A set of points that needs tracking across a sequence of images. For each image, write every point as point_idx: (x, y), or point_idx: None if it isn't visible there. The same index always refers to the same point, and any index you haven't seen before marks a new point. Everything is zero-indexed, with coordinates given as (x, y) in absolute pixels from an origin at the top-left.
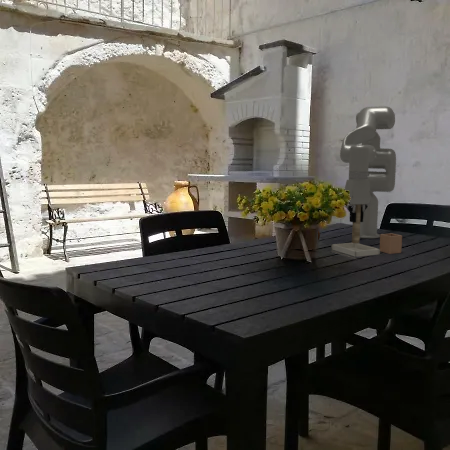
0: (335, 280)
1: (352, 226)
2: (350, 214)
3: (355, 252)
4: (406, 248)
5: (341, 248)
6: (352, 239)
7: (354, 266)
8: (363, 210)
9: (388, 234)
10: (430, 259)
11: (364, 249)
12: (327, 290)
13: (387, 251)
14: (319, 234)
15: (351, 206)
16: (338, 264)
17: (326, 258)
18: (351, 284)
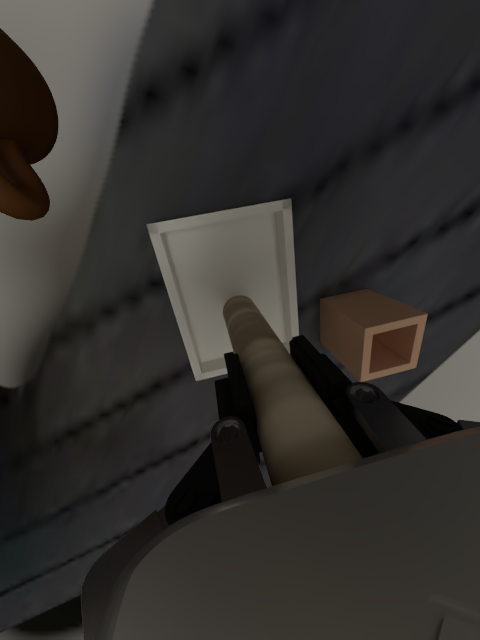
0: (65, 525)
1: (235, 344)
2: (221, 418)
3: (195, 377)
4: (462, 236)
5: (172, 302)
6: (224, 319)
7: (155, 435)
8: (356, 446)
9: (399, 327)
10: (386, 384)
11: (282, 281)
12: (33, 567)
13: (327, 340)
14: (30, 218)
15: (254, 487)
16: (115, 416)
17: (94, 342)
18: (94, 540)
